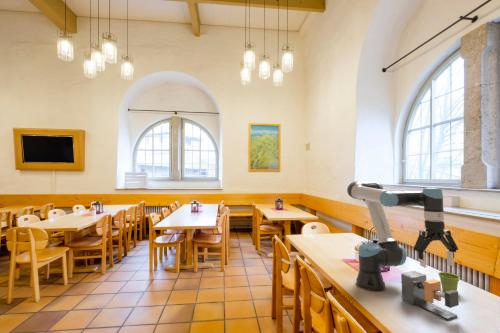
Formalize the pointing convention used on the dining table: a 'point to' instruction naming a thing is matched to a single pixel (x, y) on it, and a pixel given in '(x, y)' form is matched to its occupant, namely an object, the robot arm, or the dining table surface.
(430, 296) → the block
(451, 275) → the plant pot
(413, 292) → the block
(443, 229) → the robot arm
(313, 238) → the dining table surface
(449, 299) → the shaft
